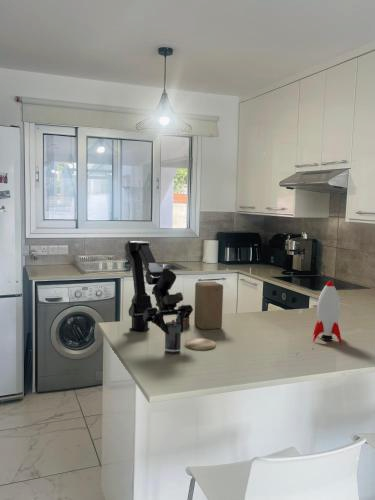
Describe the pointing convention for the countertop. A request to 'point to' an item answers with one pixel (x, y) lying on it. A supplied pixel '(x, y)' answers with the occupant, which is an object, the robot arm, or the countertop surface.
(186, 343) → the smooth tan round disc
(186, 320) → the lighter
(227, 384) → the countertop surface
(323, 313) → the rocket
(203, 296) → the wooden block
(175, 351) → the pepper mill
